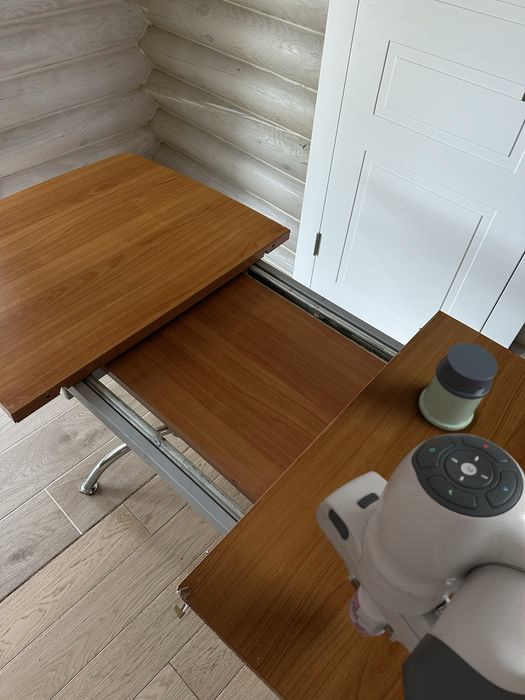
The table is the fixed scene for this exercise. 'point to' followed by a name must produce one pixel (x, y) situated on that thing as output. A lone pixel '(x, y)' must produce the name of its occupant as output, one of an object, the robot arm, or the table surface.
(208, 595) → the table surface
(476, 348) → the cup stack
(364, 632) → the pill bottle
